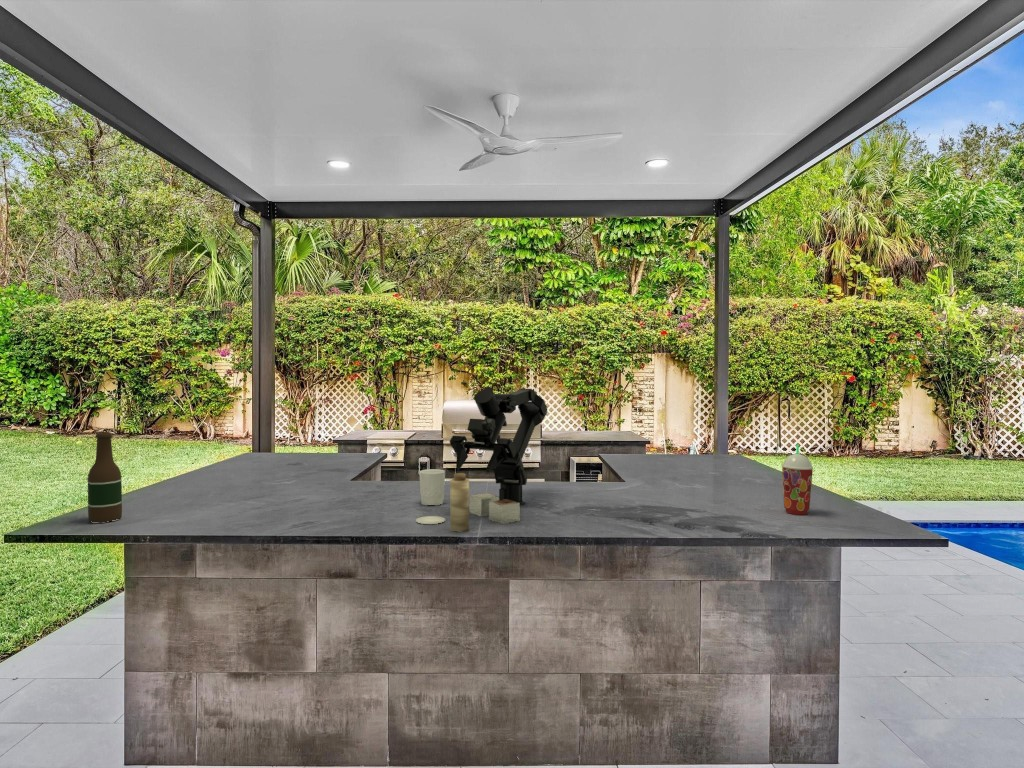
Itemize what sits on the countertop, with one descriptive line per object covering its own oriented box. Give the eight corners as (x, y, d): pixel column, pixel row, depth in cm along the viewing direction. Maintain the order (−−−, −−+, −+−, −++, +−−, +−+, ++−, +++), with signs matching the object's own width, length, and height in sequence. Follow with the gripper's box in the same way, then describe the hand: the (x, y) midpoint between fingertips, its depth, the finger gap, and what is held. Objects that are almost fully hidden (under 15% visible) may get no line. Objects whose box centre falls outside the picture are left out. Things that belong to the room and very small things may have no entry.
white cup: (440, 506, 188) (440, 474, 187) (415, 505, 189) (415, 473, 189) (448, 501, 195) (448, 469, 195) (424, 500, 197) (424, 468, 197)
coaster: (436, 516, 176) (436, 514, 176) (450, 522, 170) (450, 520, 170) (410, 520, 171) (410, 518, 171) (424, 526, 165) (424, 524, 165)
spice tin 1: (487, 509, 184) (487, 492, 184) (498, 513, 179) (498, 495, 179) (469, 512, 180) (469, 494, 180) (481, 516, 175) (481, 498, 175)
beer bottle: (128, 518, 172) (127, 431, 172) (102, 525, 165) (100, 434, 164) (108, 515, 175) (106, 430, 174) (81, 522, 168) (79, 433, 167)
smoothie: (812, 511, 184) (813, 443, 183) (812, 517, 176) (813, 447, 176) (781, 508, 187) (782, 442, 187) (780, 514, 180) (781, 445, 179)
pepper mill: (462, 526, 165) (462, 471, 165) (472, 530, 161) (472, 474, 161) (447, 528, 162) (447, 473, 162) (456, 533, 159) (456, 476, 158)
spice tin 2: (506, 516, 176) (506, 498, 176) (519, 521, 171) (519, 502, 171) (489, 519, 172) (489, 501, 172) (501, 524, 167) (501, 505, 167)
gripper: (453, 407, 178) (431, 449, 168) (512, 409, 170) (493, 453, 160) (466, 433, 185) (446, 474, 175) (523, 436, 177) (506, 480, 167)
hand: (472, 470), depth 169 cm, fingers open, 9 cm apart
